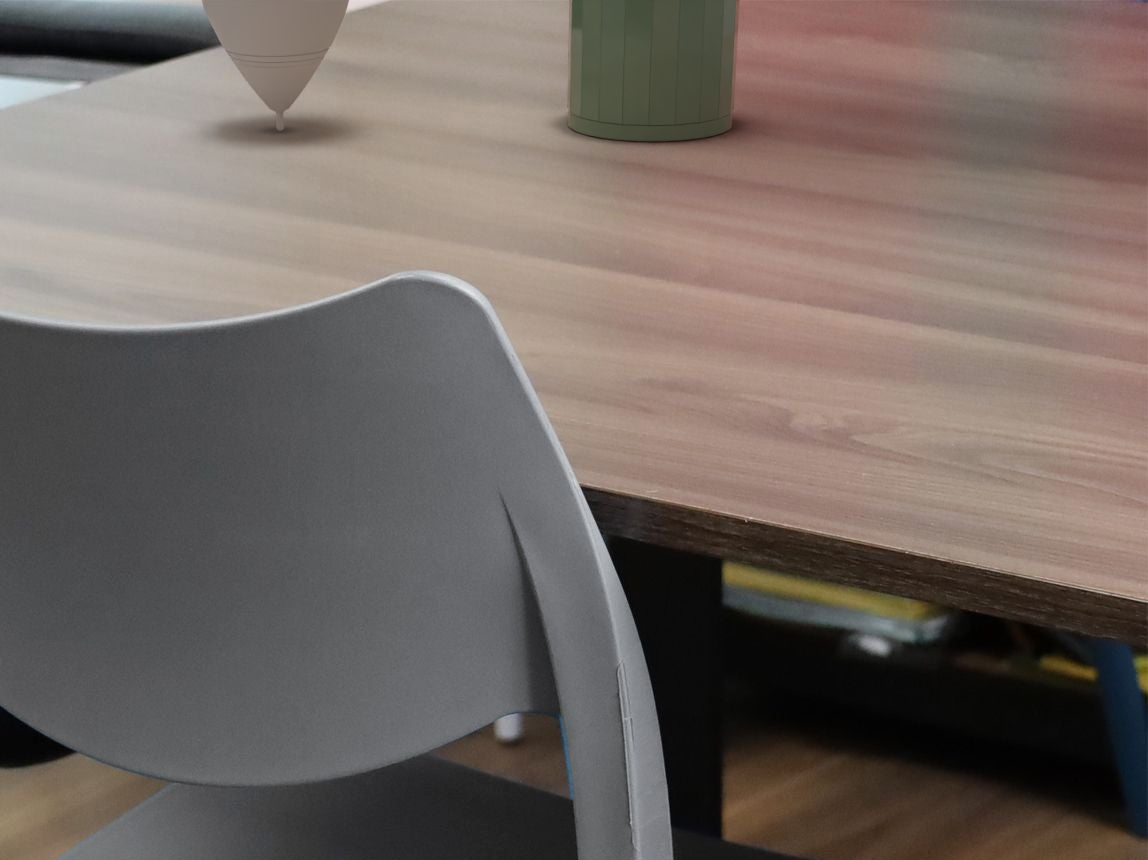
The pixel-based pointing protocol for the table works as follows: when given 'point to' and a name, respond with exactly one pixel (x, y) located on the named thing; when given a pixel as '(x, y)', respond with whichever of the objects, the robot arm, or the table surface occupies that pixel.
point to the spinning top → (276, 43)
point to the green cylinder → (652, 68)
